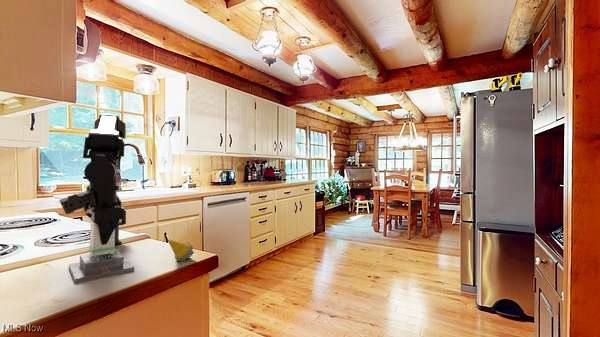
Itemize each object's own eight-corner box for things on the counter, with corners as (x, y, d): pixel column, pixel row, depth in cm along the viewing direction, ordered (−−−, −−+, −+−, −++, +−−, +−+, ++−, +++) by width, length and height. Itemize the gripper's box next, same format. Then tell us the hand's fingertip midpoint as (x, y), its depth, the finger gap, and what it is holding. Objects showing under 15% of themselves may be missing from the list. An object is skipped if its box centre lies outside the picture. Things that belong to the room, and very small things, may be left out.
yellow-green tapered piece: (197, 262, 82) (173, 244, 76) (181, 268, 83) (157, 251, 77) (200, 247, 86) (178, 228, 80) (185, 253, 87) (162, 235, 82)
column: (89, 251, 74) (90, 216, 74) (110, 248, 77) (111, 214, 77) (92, 256, 70) (93, 219, 70) (114, 252, 74) (115, 217, 73)
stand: (69, 268, 74) (69, 254, 74) (122, 258, 82) (122, 246, 82) (75, 283, 65) (75, 268, 65) (134, 270, 74) (134, 257, 74)
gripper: (59, 179, 74) (58, 239, 75) (66, 185, 61) (65, 258, 61) (109, 179, 82) (108, 233, 83) (126, 184, 69) (125, 249, 69)
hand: (102, 242), depth 74 cm, fingers closed on column, 4 cm apart
